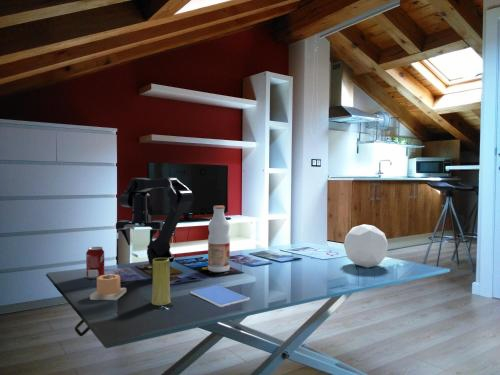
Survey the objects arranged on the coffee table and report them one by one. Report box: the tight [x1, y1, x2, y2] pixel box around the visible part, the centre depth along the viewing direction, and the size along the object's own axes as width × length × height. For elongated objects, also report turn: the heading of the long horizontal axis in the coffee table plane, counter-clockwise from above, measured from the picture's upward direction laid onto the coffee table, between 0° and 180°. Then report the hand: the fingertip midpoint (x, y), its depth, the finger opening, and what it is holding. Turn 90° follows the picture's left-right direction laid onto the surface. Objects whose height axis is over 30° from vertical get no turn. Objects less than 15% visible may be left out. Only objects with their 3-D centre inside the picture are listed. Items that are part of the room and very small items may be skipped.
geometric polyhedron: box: [343, 223, 389, 269], centre depth 183 cm, size 19×20×20 cm
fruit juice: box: [207, 205, 231, 273], centre depth 174 cm, size 9×9×28 cm
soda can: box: [85, 246, 105, 280], centre depth 161 cm, size 7×7×12 cm
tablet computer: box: [189, 285, 251, 308], centre depth 137 cm, size 19×13×1 cm, turn 39°
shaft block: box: [89, 276, 127, 301], centre depth 137 cm, size 9×9×6 cm
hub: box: [96, 273, 121, 295], centre depth 137 cm, size 7×7×5 cm
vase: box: [151, 258, 172, 307], centre depth 130 cm, size 6×6×14 cm
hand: (140, 245), depth 167 cm, fingers open, 9 cm apart
